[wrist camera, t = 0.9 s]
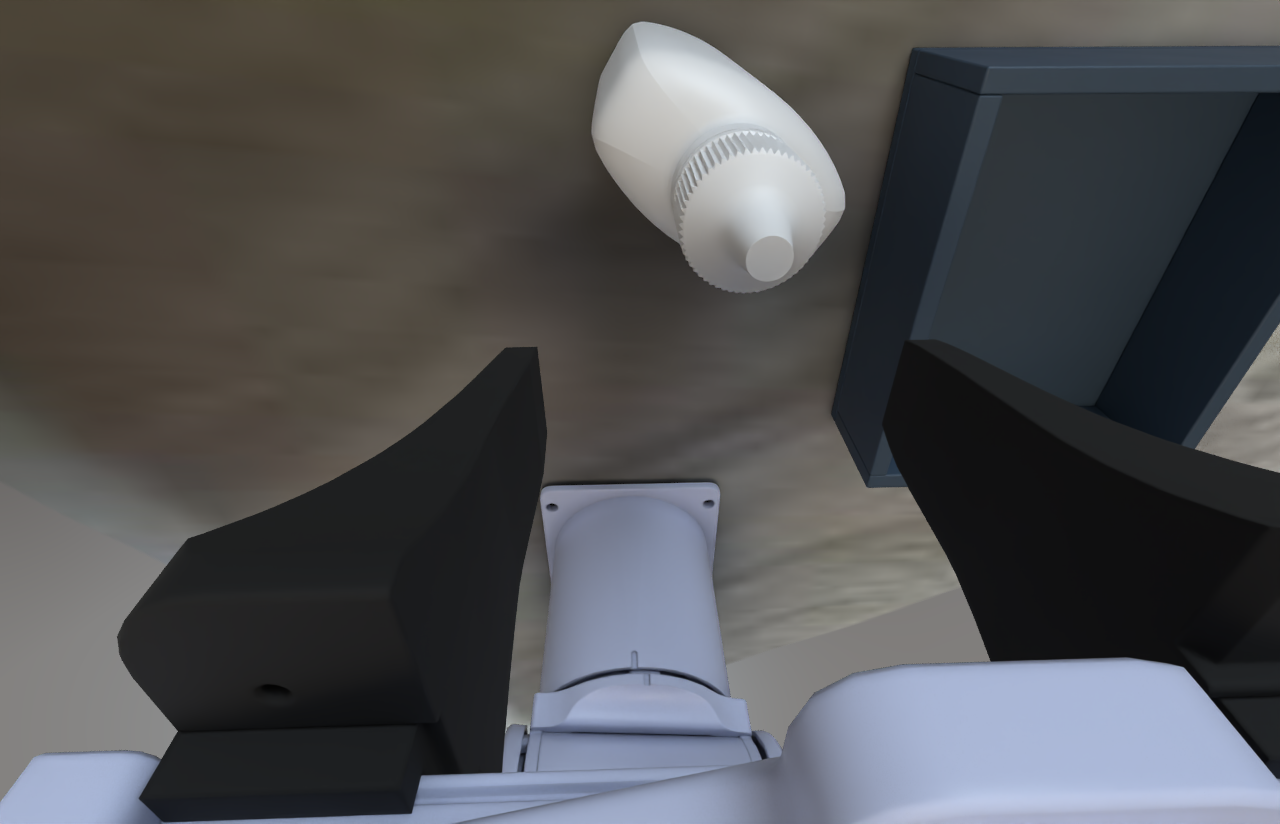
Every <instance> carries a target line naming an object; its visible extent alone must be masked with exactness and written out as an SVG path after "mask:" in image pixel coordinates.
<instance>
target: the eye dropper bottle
mask: <svg viewBox="0 0 1280 824" xmlns="http://www.w3.org/2000/svg"><path fill="white" fill-rule="evenodd" d="M591 133H592V137H593V141H594V145H595V149H596V151H597V153H598V155H599V157H600V158H601V160H602V162H603V164H604V166H605V167H606V169H607V170H608V172H609V173H610V175H611V176H612V178H613V179H614V181H615V182H616V183H617V185H618V186H619V187H620V189H621V190H622V191H623V193H624V194H625V195H626V196H627V197H628V199H629V200H630V201H631V202H632V203H633V204H634V206H635V207H636V208H637V209H638V210H639V211H640V212H641V213H642V214H643V215H644V216H645V217H646V218H647V219H648V220H650V221H651V222H652V223H653V224H654V225H655V226H656V227H657V228H659V229H660V230H661V231H662V232H664V233H665V234H666V235H667V236H669V237H670V238H672V239H673V240H675V241H676V242H678V243H679V244H680V246H681V248H682V252H683V254H684V255H685V259H686V260H687V261H688V263H689V266H691V267H693V271H694V272H697V273H698V277H703V280H704V281H708V282H709V285H715V288H721V289H722V290H728V292H733V291H734V292H735V293H739V292H741V293H742V294H744V293H746V292H748V293H752V292H754V291H755V292H759V291H761V290H763V291H765V290H766V289H768V288H770V289H772V288H773V287H774V286H779V284H780V283H782V282H786V280H787V279H789V278H792V276H793V274H796V273H798V271H799V269H801V268H803V266H804V264H805V263H807V262H808V259H809V258H810V257H811V256H813V254H814V252H815V251H816V250H817V249H818V248H819V247H820V245H821V244H822V243H823V242H824V241H825V239H826V238H827V237H828V236H829V234H830V233H831V232H832V230H833V229H834V228H835V226H836V225H837V224H838V222H839V221H840V219H841V216H842V214H843V212H844V209H845V192H844V189H843V186H842V182H841V180H840V177H839V175H838V173H837V170H836V168H835V166H834V164H833V162H832V160H831V159H830V157H829V155H828V153H827V151H826V150H825V148H824V147H823V145H822V144H821V142H820V141H819V139H818V138H817V136H816V135H815V134H814V132H813V131H812V130H811V128H810V127H809V126H808V125H807V124H806V123H805V122H804V120H803V119H802V118H801V117H800V116H799V115H798V114H797V113H796V112H795V111H794V110H793V109H792V108H791V107H790V106H789V105H788V104H787V103H786V102H785V101H783V100H782V99H781V98H780V97H779V96H778V95H776V94H775V93H774V92H773V91H771V90H770V89H769V88H768V87H766V86H765V85H764V84H762V83H761V82H760V81H759V80H757V79H756V78H755V77H753V76H752V75H751V74H749V73H748V72H747V71H745V70H744V69H743V68H741V67H740V66H739V65H737V64H736V63H735V62H734V61H732V60H731V59H730V58H728V57H727V56H726V55H724V54H723V53H721V52H720V51H719V50H717V49H716V48H714V47H713V46H711V45H709V44H708V43H706V42H704V41H702V40H700V39H699V38H697V37H694V36H692V35H690V34H688V33H685V32H683V31H680V30H678V29H675V28H671V27H668V26H664V25H660V24H656V23H649V22H639V23H635V24H632V25H631V26H630V27H629V28H628V29H627V30H626V31H625V32H624V33H623V35H622V37H621V39H620V40H619V42H618V44H617V46H616V47H615V49H614V51H613V53H612V55H611V57H610V59H609V60H608V62H607V64H606V66H605V68H604V70H603V72H602V74H601V76H600V80H599V84H598V89H597V95H596V100H595V106H594V112H593V119H592V130H591Z"/></svg>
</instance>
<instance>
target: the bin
mask: <svg viewBox="0 0 1280 824" xmlns="http://www.w3.org/2000/svg"><path fill="white" fill-rule="evenodd" d="M1279 323H1280V46H1172V47H974V48H913V50H912V54H911V58H910V63H909V67H908V72H907V76H906V81H905V86H904V90H903V95H902V99H901V104H900V108H899V113H898V117H897V122H896V126H895V131H894V135H893V140H892V144H891V149H890V153H889V158H888V162H887V167H886V171H885V176H884V180H883V185H882V189H881V194H880V198H879V203H878V207H877V212H876V216H875V221H874V225H873V230H872V234H871V239H870V243H869V248H868V252H867V257H866V261H865V266H864V270H863V275H862V279H861V284H860V288H859V293H858V297H857V302H856V306H855V311H854V315H853V320H852V324H851V329H850V333H849V338H848V342H847V347H846V351H845V356H844V360H843V365H842V369H841V374H840V378H839V383H838V387H837V392H836V396H835V401H834V405H833V410H832V414H831V415H832V417H833V419H834V421H835V423H836V425H837V427H838V429H839V431H840V433H841V435H842V437H843V439H844V441H845V444H846V446H847V448H848V450H849V452H850V454H851V456H852V458H853V460H854V462H855V464H856V466H857V468H858V470H859V472H860V474H861V476H862V479H863V481H864V483H865V485H866V487H868V488H878V487H908V486H907V484H906V482H905V481H904V479H903V477H902V475H901V473H900V471H899V469H898V467H897V466H896V463H895V461H894V458H893V455H892V453H891V450H890V448H889V445H888V442H887V439H886V436H885V433H884V430H883V427H882V421H883V417H884V414H885V410H886V406H887V403H888V399H889V395H890V392H891V388H892V385H893V381H894V377H895V374H896V370H897V366H898V363H899V359H900V356H901V352H902V348H903V345H904V341H905V340H929V339H936V340H939V341H942V342H945V343H947V344H950V345H952V346H954V347H957V348H959V349H961V350H963V351H965V352H967V353H970V354H972V355H974V356H976V357H978V358H980V359H982V360H984V361H986V362H988V363H990V364H992V365H994V366H996V367H998V368H1000V369H1002V370H1004V371H1006V372H1008V373H1010V374H1012V375H1014V376H1016V377H1018V378H1020V379H1022V380H1024V381H1026V382H1028V383H1030V384H1032V385H1034V386H1036V387H1038V388H1040V389H1042V390H1044V391H1046V392H1048V393H1050V394H1053V395H1055V396H1057V397H1059V398H1061V399H1064V400H1066V401H1068V402H1070V403H1072V404H1075V405H1077V406H1079V407H1081V408H1084V409H1086V410H1088V411H1090V412H1093V413H1095V414H1098V415H1100V416H1103V417H1105V418H1107V419H1110V420H1112V421H1115V422H1118V423H1120V424H1123V425H1126V426H1128V427H1131V428H1134V429H1136V430H1139V431H1142V432H1145V433H1147V434H1150V435H1153V436H1155V437H1158V438H1161V439H1164V440H1167V441H1170V442H1173V443H1176V444H1179V445H1182V446H1186V447H1189V448H1192V449H1195V448H1196V446H1197V445H1198V443H1199V442H1200V440H1201V439H1202V437H1203V436H1204V434H1205V433H1206V431H1207V430H1208V428H1209V427H1210V425H1211V424H1212V423H1213V421H1214V420H1215V418H1216V417H1217V415H1218V414H1219V412H1220V411H1221V409H1222V408H1223V406H1224V405H1225V403H1226V402H1227V400H1228V399H1229V397H1230V396H1231V394H1232V393H1233V391H1234V390H1235V388H1236V387H1237V385H1238V384H1239V383H1240V381H1241V380H1242V378H1243V377H1244V375H1245V374H1246V372H1247V371H1248V369H1249V368H1250V366H1251V365H1252V363H1253V362H1254V360H1255V359H1256V357H1257V356H1258V354H1259V353H1260V351H1261V350H1262V348H1263V347H1264V345H1265V344H1266V343H1267V341H1268V340H1269V338H1270V337H1271V335H1272V334H1273V332H1274V331H1275V329H1276V328H1277V326H1278V325H1279Z"/></svg>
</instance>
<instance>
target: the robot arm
mask: <svg viewBox="0 0 1280 824" xmlns="http://www.w3.org/2000/svg"><path fill="white" fill-rule="evenodd" d="M882 427H883V430H884V433H885V436H886V439H887V442H888V445H889V448H890V450H891V453H892V455H893V458H894V461H895V463H896V466H897V467H898V469H899V471H900V473H901V475H902V477H903V479H904V481H905V482H906V484H907V486H908V488H909V490H910V491H911V493H912V495H913V497H914V499H915V500H916V502H917V504H918V506H919V507H920V509H921V511H922V513H923V515H924V516H925V518H926V520H927V522H928V523H929V525H930V527H931V529H932V530H933V532H934V534H935V536H936V538H937V539H938V541H939V543H940V545H941V546H942V548H943V550H944V552H945V553H946V555H947V557H948V559H949V561H950V563H951V565H952V567H953V569H954V571H955V573H956V576H957V578H958V580H959V583H960V585H961V587H962V590H963V592H964V595H965V597H966V599H967V602H968V604H969V606H970V609H971V611H972V614H973V616H974V619H975V621H976V624H977V626H978V629H979V632H980V634H981V637H982V640H983V642H984V645H985V647H986V650H987V653H988V655H989V658H990V661H991V662H964V663H963V662H962V663H933V664H932V663H930V664H902V665H896V666H890V667H885V668H879V669H873V670H868V671H862V672H856V673H852V674H851V675H849V676H846V677H845V678H843V679H841V680H839V681H837V682H835V683H833V684H831V685H829V686H827V687H825V688H823V689H821V690H819V691H817V692H815V693H814V694H813V695H812V697H811V698H810V699H809V700H808V702H807V703H806V705H805V706H804V707H803V708H802V710H801V711H800V712H799V714H798V715H797V716H796V718H795V719H794V720H793V722H792V723H791V724H790V726H789V727H788V731H787V734H786V739H785V742H784V746H783V749H782V748H781V746H780V745H779V743H778V742H777V740H776V739H775V738H774V737H773V736H772V735H771V734H770V733H768V732H765V731H762V730H760V731H751V726H750V720H749V714H748V709H747V703H746V700H744V699H737V698H731V696H730V689H729V683H728V677H727V670H726V664H725V657H724V651H723V645H722V638H721V632H720V625H719V619H718V613H717V606H716V600H715V593H714V587H713V581H712V573H713V563H714V553H715V543H716V533H717V523H718V514H719V504H720V490H719V487H718V486H717V484H715V483H710V482H702V483H655V484H608V485H561V486H547V487H545V488H543V489H542V491H541V495H540V503H541V510H542V518H543V525H544V533H545V540H546V548H547V556H548V563H549V571H550V578H551V592H550V601H549V610H548V619H547V629H546V638H545V647H544V656H543V665H542V674H541V684H540V693H536V694H535V695H534V700H533V709H532V717H531V726H530V734H527V725H519V724H512V725H510V726H509V727H508V729H507V731H506V733H505V728H506V716H507V704H508V692H509V681H510V670H511V660H512V650H513V640H514V630H515V621H516V612H517V603H518V594H519V586H520V580H521V574H522V569H523V563H524V559H525V555H526V550H527V546H528V541H529V537H530V532H531V528H532V524H533V519H534V515H535V510H536V506H537V501H538V497H539V492H540V488H541V483H542V478H543V474H544V463H545V452H546V439H547V427H546V418H545V410H544V401H543V392H542V384H541V375H540V367H539V358H538V349H537V347H512V348H505V349H504V350H503V351H502V352H501V353H500V354H499V355H498V356H497V357H496V358H495V359H494V360H493V361H492V362H491V363H489V364H488V365H487V366H486V367H485V368H484V369H483V370H482V371H481V372H480V373H479V374H478V375H477V376H476V377H475V378H474V379H473V380H472V381H471V382H470V383H469V384H468V385H467V386H466V387H465V388H464V389H463V390H462V391H461V392H460V393H459V394H458V395H456V396H455V397H454V398H453V399H452V400H451V401H449V402H448V403H447V404H446V405H445V406H443V407H442V408H441V409H440V410H439V411H437V412H436V413H435V414H434V415H433V416H432V417H430V418H429V419H428V420H427V421H426V422H424V423H423V424H422V425H420V426H419V427H418V428H416V429H415V430H414V431H412V432H411V433H410V434H408V435H407V436H405V437H404V438H402V439H401V440H399V441H398V442H396V443H395V444H393V445H392V446H390V447H389V448H387V449H386V450H384V451H383V452H381V453H380V454H378V455H376V456H375V457H373V458H371V459H369V460H368V461H366V462H364V463H362V464H360V465H359V466H357V467H355V468H353V469H352V470H350V471H348V472H346V473H344V474H343V475H341V476H339V477H337V478H335V479H334V480H332V481H330V482H328V483H326V484H324V485H322V486H319V487H317V488H315V489H313V490H311V491H309V492H307V493H305V494H303V495H300V496H298V497H296V498H294V499H291V500H289V501H287V502H284V503H282V504H280V505H278V506H275V507H273V508H270V509H268V510H265V511H263V512H261V513H258V514H255V515H253V516H250V517H247V518H244V519H242V520H239V521H236V522H234V523H231V524H228V525H225V526H223V527H220V528H217V529H214V530H212V531H209V532H206V533H204V534H201V535H198V536H195V537H191V538H188V539H187V541H186V542H185V543H184V544H183V545H182V547H181V548H180V549H179V550H178V552H177V553H176V554H175V555H174V557H173V558H172V559H171V561H170V562H169V563H168V565H167V566H166V567H165V568H164V570H163V571H162V572H161V574H160V575H159V577H158V578H157V579H156V580H155V581H154V583H153V584H152V585H151V587H150V588H149V589H148V591H147V592H146V593H145V594H144V596H143V597H142V598H141V600H140V601H139V602H138V603H137V605H136V606H135V607H134V609H133V610H132V611H131V613H130V614H129V615H128V617H127V618H126V619H125V620H124V623H123V625H122V627H121V630H120V631H119V634H118V636H117V638H118V647H119V654H120V657H121V659H122V661H123V663H124V664H125V666H126V668H127V669H128V671H129V672H130V674H131V676H132V677H133V679H134V680H135V681H136V682H137V683H138V684H139V686H140V687H141V688H142V689H143V690H144V692H145V693H146V694H147V695H148V696H149V697H150V699H151V700H152V701H153V702H154V703H155V705H156V706H157V707H158V708H159V709H160V710H161V712H162V713H163V714H164V715H165V716H166V717H167V719H168V720H169V721H170V722H171V723H172V724H173V726H174V727H175V728H176V729H177V730H178V732H177V734H176V735H175V737H174V739H173V741H172V742H171V744H170V746H169V747H168V749H167V751H166V752H165V754H164V756H163V758H162V759H160V758H158V757H156V756H154V755H150V754H147V753H144V752H140V751H128V750H119V751H90V752H59V753H44V754H41V755H38V756H35V757H34V758H33V759H32V761H31V762H30V763H29V765H28V766H27V767H26V769H25V770H24V771H23V773H22V774H21V775H20V777H19V778H18V779H17V781H16V782H15V783H14V785H13V786H12V787H11V789H10V790H9V791H8V792H7V794H6V795H5V796H4V798H3V799H2V800H1V802H0V824H1280V473H1278V472H1274V471H1269V470H1266V469H1262V468H1258V467H1254V466H1251V465H1247V464H1243V463H1239V462H1236V461H1232V460H1229V459H1225V458H1222V457H1219V456H1215V455H1212V454H1209V453H1205V452H1202V451H1199V450H1195V449H1192V448H1189V447H1186V446H1182V445H1179V444H1176V443H1173V442H1170V441H1167V440H1164V439H1161V438H1158V437H1155V436H1153V435H1150V434H1147V433H1145V432H1142V431H1139V430H1136V429H1134V428H1131V427H1128V426H1126V425H1123V424H1120V423H1118V422H1115V421H1112V420H1110V419H1107V418H1105V417H1103V416H1100V415H1098V414H1095V413H1093V412H1090V411H1088V410H1086V409H1084V408H1081V407H1079V406H1077V405H1075V404H1072V403H1070V402H1068V401H1066V400H1064V399H1061V398H1059V397H1057V396H1055V395H1053V394H1050V393H1048V392H1046V391H1044V390H1042V389H1040V388H1038V387H1036V386H1034V385H1032V384H1030V383H1028V382H1026V381H1024V380H1022V379H1020V378H1018V377H1016V376H1014V375H1012V374H1010V373H1008V372H1006V371H1004V370H1002V369H1000V368H998V367H996V366H994V365H992V364H990V363H988V362H986V361H984V360H982V359H980V358H978V357H976V356H974V355H972V354H970V353H967V352H965V351H963V350H961V349H959V348H957V347H954V346H952V345H950V344H947V343H945V342H942V341H939V340H936V339H929V340H905V341H904V345H903V348H902V352H901V356H900V359H899V363H898V366H897V370H896V374H895V377H894V381H893V385H892V388H891V392H890V395H889V399H888V403H887V406H886V410H885V414H884V417H883V421H882ZM706 500H712V501H710V502H705V501H706ZM551 503H553V504H556V505H555V506H552V505H549V504H551Z"/></svg>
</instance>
